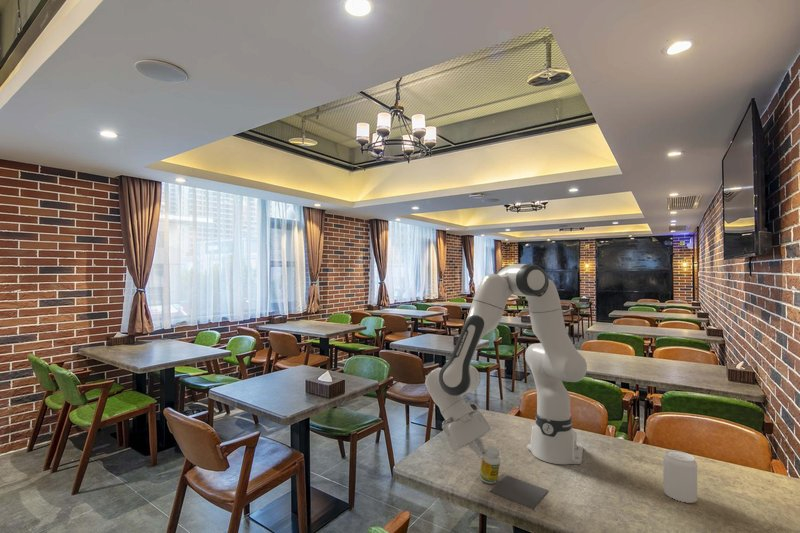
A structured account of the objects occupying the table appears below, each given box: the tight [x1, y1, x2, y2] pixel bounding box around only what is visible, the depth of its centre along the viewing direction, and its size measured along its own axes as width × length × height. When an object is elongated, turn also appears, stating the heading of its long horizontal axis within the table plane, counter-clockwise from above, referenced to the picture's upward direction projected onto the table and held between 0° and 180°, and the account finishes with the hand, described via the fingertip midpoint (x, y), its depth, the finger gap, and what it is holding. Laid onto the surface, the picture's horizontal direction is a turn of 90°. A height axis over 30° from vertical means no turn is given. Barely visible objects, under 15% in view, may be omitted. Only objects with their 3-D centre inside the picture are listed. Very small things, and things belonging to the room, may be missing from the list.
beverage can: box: [662, 449, 698, 504], centre depth 114 cm, size 8×8×12 cm
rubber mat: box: [489, 474, 549, 510], centre depth 114 cm, size 12×13×1 cm
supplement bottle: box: [479, 446, 501, 485], centre depth 120 cm, size 5×5×10 cm
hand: (482, 454), depth 121 cm, fingers closed, pressing on supplement bottle
